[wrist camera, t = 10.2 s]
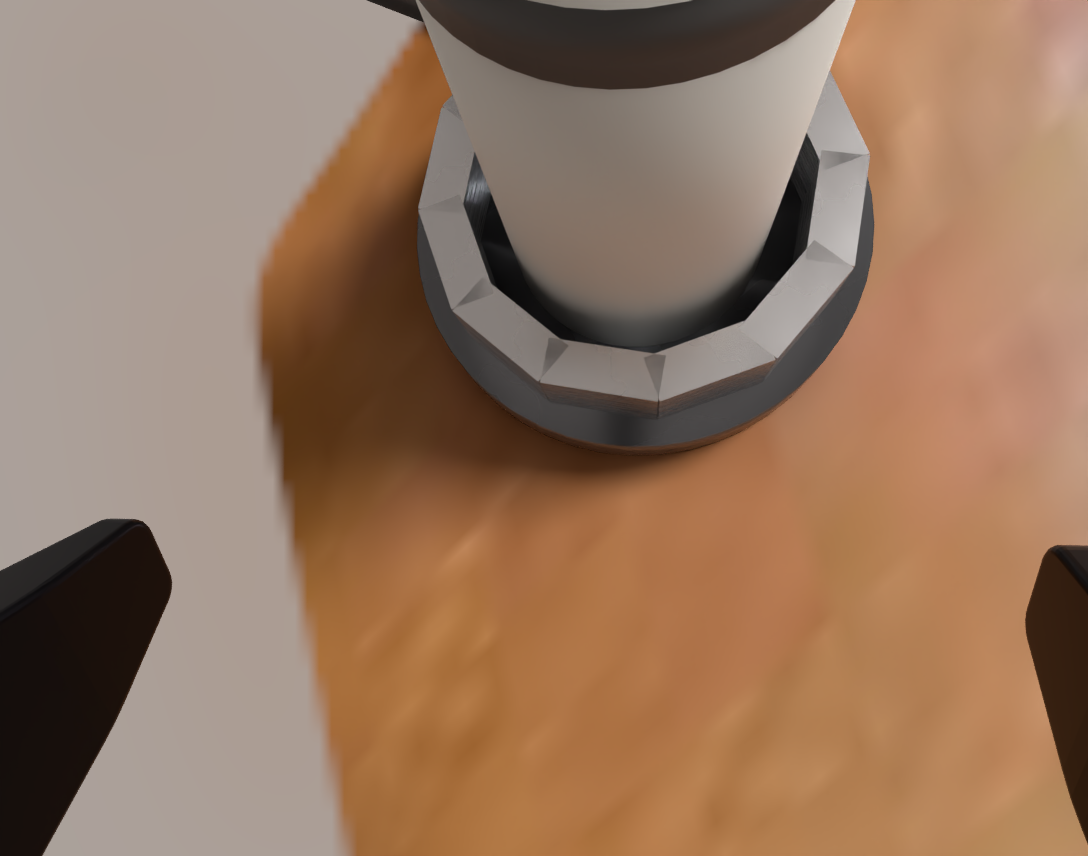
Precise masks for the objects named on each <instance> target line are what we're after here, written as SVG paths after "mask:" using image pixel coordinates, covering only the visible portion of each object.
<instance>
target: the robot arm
mask: <svg viewBox="0 0 1088 856" xmlns="http://www.w3.org/2000/svg"><path fill="white" fill-rule="evenodd" d="M171 589H172V579H171V575H170V572H169V569H168V567H167V565H166V563H165V561H164V558H163V557H162V554H161V552H160V550H159V547H158V545H157V543H156V541H155V539H154V536H153V534H152V532H151V530H150V528H149V527H148V526H147V525H146V524H145V523H144V522H143V521H139V520H136V519H105V520H101V521H99V522H97V523H95V524H93V525H91V526H89V527H87V528H85V529H83V530H81V531H79V532H77V533H75V534H73V535H71V536H69V537H67V538H65V539H63V540H61V541H59V542H57V543H55V544H53V545H51V546H49V547H47V548H45V549H43V550H41V551H39V552H37V553H35V554H33V555H31V556H29V557H27V558H25V559H23V560H21V561H19V562H17V563H15V564H13V565H11V566H9V567H7V568H5V569H3V570H1V571H0V856H42V855H43V853H44V852H45V850H46V848H47V846H48V844H49V842H50V841H51V839H52V837H53V835H54V833H55V832H56V830H57V828H58V826H59V824H60V822H61V821H62V819H63V817H64V815H65V814H66V812H67V810H68V808H69V806H70V804H71V802H72V801H73V799H74V797H75V795H76V794H77V792H78V790H79V788H80V786H81V784H82V783H83V781H84V779H85V777H86V775H87V774H88V772H89V770H90V768H91V766H92V764H93V763H94V761H95V759H96V757H97V755H98V754H99V752H100V750H101V748H102V746H103V745H104V743H105V741H106V739H107V737H108V735H109V733H110V731H111V729H112V727H113V725H114V723H115V721H116V719H117V717H118V715H119V713H120V711H121V708H122V706H123V704H124V702H125V700H126V697H127V695H128V693H129V691H130V688H131V686H132V684H133V681H134V679H135V677H136V674H137V672H138V670H139V667H140V665H141V662H142V660H143V658H144V656H145V654H146V651H147V649H148V647H149V644H150V642H151V640H152V637H153V635H154V633H155V630H156V628H157V626H158V624H159V621H160V619H161V617H162V614H163V612H164V610H165V607H166V605H167V603H168V601H169V598H170V594H171ZM1025 625H1026V635H1027V640H1028V644H1029V647H1030V651H1031V655H1032V659H1033V662H1034V666H1035V670H1036V674H1037V677H1038V681H1039V685H1040V689H1041V692H1042V696H1043V700H1044V704H1045V707H1046V711H1047V715H1048V719H1049V722H1050V726H1051V730H1052V734H1053V737H1054V741H1055V745H1056V749H1057V752H1058V756H1059V760H1060V764H1061V767H1062V771H1063V774H1064V778H1065V781H1066V785H1067V788H1068V791H1069V795H1070V798H1071V801H1072V804H1073V806H1074V809H1075V812H1076V815H1077V817H1078V820H1079V823H1080V825H1081V828H1082V831H1083V833H1084V836H1085V838H1086V841H1087V843H1088V546H1080V545H1056V546H1053V547H1051V548H1050V549H1048V551H1047V552H1046V553H1045V555H1044V557H1043V559H1042V563H1041V566H1040V569H1039V572H1038V575H1037V579H1036V582H1035V585H1034V588H1033V591H1032V595H1031V598H1030V601H1029V604H1028V608H1027V612H1026V619H1025Z"/></svg>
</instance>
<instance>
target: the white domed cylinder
mask: <svg viewBox="0 0 1088 856" xmlns="http://www.w3.org/2000/svg"><path fill="white" fill-rule="evenodd" d="M416 3H417V5H418V8H419V10H420V13H421V15H422V18H423V21H424V23H425V26H426V28H427V31H428V33H429V36H430V38H431V41H432V44H433V46H434V49H435V51H436V54H437V56H438V59H439V61H440V64H441V67H442V69H443V72H444V74H445V77H446V79H447V82H448V84H449V87H450V90H451V92H452V95H453V97H454V100H455V102H456V105H457V107H458V110H459V113H460V115H461V118H462V120H463V123H464V125H465V128H466V130H467V133H468V136H469V138H470V141H471V143H472V146H473V148H474V151H475V153H476V156H477V159H478V161H479V164H480V166H481V169H482V171H483V174H484V176H485V179H486V182H487V184H488V187H489V189H490V192H491V194H492V197H493V199H494V202H495V205H496V207H497V210H498V212H499V215H500V217H501V220H502V222H503V225H504V228H505V230H506V233H507V235H508V238H509V240H510V243H511V246H512V248H513V251H514V253H515V256H516V258H517V261H518V263H519V266H520V269H521V271H522V274H523V276H524V279H525V281H526V283H527V285H528V286H529V288H530V290H531V292H532V294H533V295H534V296H535V297H536V299H537V300H538V301H539V303H540V304H541V305H542V306H543V307H544V308H545V309H546V310H547V311H548V312H549V313H550V314H551V315H552V316H553V317H554V318H555V319H556V320H558V321H559V322H560V323H562V324H563V325H564V326H566V327H567V328H569V329H571V330H573V331H575V332H576V333H578V334H580V335H583V336H585V337H587V338H590V339H592V340H595V341H599V342H603V343H607V344H611V345H618V346H626V347H644V346H652V345H660V344H664V343H668V342H672V341H676V340H679V339H681V338H684V337H687V336H689V335H692V334H694V333H695V332H697V331H699V330H701V329H703V328H705V327H707V326H708V325H709V324H711V323H712V322H714V321H715V320H716V319H718V318H719V317H720V316H722V315H723V314H724V313H725V312H726V311H727V310H728V309H729V308H730V307H731V306H732V305H733V304H734V303H735V302H736V300H737V299H738V298H739V297H740V295H741V294H742V293H743V291H744V290H745V288H746V287H747V285H748V283H749V282H750V280H751V278H752V276H753V274H754V271H755V269H756V267H757V264H758V262H759V259H760V257H761V254H762V251H763V248H764V246H765V243H766V240H767V238H768V235H769V232H770V230H771V227H772V224H773V221H774V219H775V216H776V213H777V211H778V208H779V205H780V203H781V200H782V197H783V195H784V192H785V189H786V186H787V184H788V181H789V178H790V176H791V173H792V170H793V168H794V165H795V162H796V159H797V157H798V154H799V151H800V149H801V146H802V143H803V141H804V138H805V135H806V133H807V130H808V127H809V124H810V122H811V119H812V116H813V114H814V111H815V108H816V106H817V103H818V100H819V97H820V95H821V92H822V89H823V87H824V84H825V81H826V79H827V76H828V73H829V71H830V68H831V65H832V62H833V60H834V57H835V54H836V52H837V49H838V46H839V44H840V41H841V38H842V35H843V33H844V30H845V27H846V25H847V22H848V19H849V17H850V14H851V11H852V9H853V6H854V3H855V0H416Z"/></svg>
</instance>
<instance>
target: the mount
mask: <svg viewBox="0 0 1088 856" xmlns="http://www.w3.org/2000/svg"><path fill="white" fill-rule="evenodd" d="M869 154H870V153H869V151H868V149H867V147H866V145H865V143H864V141H863V139H862V136H861V134H860V132H859V130H858V128H857V126H856V124H855V122H854V120H853V118H852V116H851V114H850V112H849V109H848V107H847V105H846V103H845V101H844V99H843V97H842V95H841V93H840V91H839V89H838V87H837V85H836V82H835V80H834V78H833V76H832V74H831V72H830V71H829V73H828V76H827V79H826V81H825V84H824V87H823V89H822V92H821V95H820V97H819V100H818V103H817V106H816V108H815V111H814V114H813V116H812V119H811V122H810V124H809V127H808V130H807V133H806V135H805V138H804V141H803V143H802V146H801V149H800V151H799V154H798V157H797V159H796V162H795V165H794V168H793V170H792V173H791V176H790V178H789V181H788V184H787V186H786V189H785V192H784V195H783V197H782V200H781V203H780V205H779V208H778V211H777V213H776V216H775V219H774V221H773V224H772V227H771V230H770V232H769V235H768V238H767V240H766V243H765V246H764V248H763V251H762V254H761V257H760V259H759V262H758V264H757V267H756V269H755V271H754V274H753V276H752V278H751V280H750V282H749V283H748V285H747V287H746V288H745V290H744V291H743V293H742V294H741V295H740V297H739V298H738V299H737V300H736V302H735V303H734V304H733V305H732V306H731V307H730V308H729V309H728V310H727V311H726V312H725V313H724V314H723V315H722V316H720V317H719V318H718V319H716V320H715V321H714V322H712V323H711V324H709V325H708V326H707V327H705V328H703V329H701V330H699V331H697V332H695V333H694V334H692V335H689V336H687V337H684V338H681V339H679V340H676V341H672V342H668V343H664V344H660V345H652V346H644V347H626V346H618V345H611V344H607V343H603V342H599V341H595V340H592V339H590V338H587V337H585V336H583V335H580V334H578V333H576V332H575V331H573V330H571V329H569V328H567V327H566V326H564V325H563V324H562V323H560V322H559V321H558V320H556V319H555V318H554V317H553V316H552V315H551V314H550V313H549V312H548V311H547V310H546V309H545V308H544V307H543V306H542V305H541V304H540V303H539V301H538V300H537V299H536V297H535V296H534V295H533V294H532V292H531V290H530V288H529V286H528V285H527V283H526V281H525V279H524V276H523V274H522V271H521V269H520V266H519V263H518V261H517V258H516V256H515V253H514V251H513V248H512V246H511V243H510V240H509V238H508V235H507V233H506V230H505V228H504V225H503V222H502V220H501V217H500V215H499V212H498V210H497V207H496V205H495V202H494V199H493V197H492V194H491V192H490V189H489V187H488V184H487V182H486V179H485V176H484V174H483V171H482V169H481V166H480V164H479V161H478V159H477V156H476V153H475V151H474V148H473V146H472V143H471V141H470V138H469V136H468V133H467V130H466V128H465V125H464V123H463V120H462V118H461V115H460V113H459V110H458V107H457V105H456V102H455V100H454V97H453V95H452V96H451V97H450V98H449V99H448V100H447V101H446V103H445V104H444V105H443V108H441V112H440V116H439V121H438V125H437V129H436V133H435V138H434V142H433V146H432V151H431V155H430V159H429V164H428V168H427V172H426V176H425V181H424V185H423V189H422V194H421V198H420V202H419V207H418V209H419V210H418V211H419V217H418V233H417V252H418V261H419V270H420V277H421V281H422V285H423V289H424V293H425V297H426V301H427V303H428V306H429V308H430V311H431V313H432V316H433V318H434V320H435V323H436V325H437V328H438V329H439V331H440V333H441V334H442V336H443V338H444V340H445V341H446V343H447V345H448V346H449V348H450V350H451V351H452V353H453V354H454V355H455V357H456V358H457V359H458V360H459V362H460V363H461V364H462V365H463V367H464V368H465V369H466V371H467V372H468V373H469V374H470V375H471V377H472V378H473V379H474V380H475V381H476V383H477V384H478V385H479V386H480V387H481V388H482V389H483V390H484V391H485V392H486V393H487V394H488V395H489V396H490V397H491V398H492V399H493V400H494V401H495V402H496V403H497V404H498V405H499V406H500V407H502V408H503V409H504V410H506V411H507V412H509V413H510V414H511V415H513V416H514V417H515V418H517V419H518V420H519V421H521V422H522V423H524V424H526V425H528V426H530V427H531V428H533V429H535V430H537V431H539V432H541V433H542V434H544V435H546V436H549V437H551V438H554V439H556V440H559V441H562V442H564V443H567V444H569V445H572V446H576V447H580V448H584V449H588V450H592V451H596V452H601V453H610V454H619V455H629V456H630V455H661V454H667V453H674V452H681V451H687V450H691V449H694V448H698V447H701V446H705V445H708V444H712V443H715V442H718V441H720V440H722V439H725V438H727V437H729V436H732V435H734V434H736V433H738V432H741V431H743V430H745V429H746V428H748V427H750V426H751V425H753V424H755V423H756V422H758V421H760V420H761V419H763V418H765V417H766V416H768V415H769V414H770V413H772V412H773V411H774V410H776V409H777V408H778V407H779V406H781V405H782V404H783V403H784V402H786V401H787V400H788V399H789V398H791V397H792V395H793V394H794V393H795V392H796V391H797V390H798V389H799V388H800V387H801V386H802V385H803V384H804V383H805V382H806V381H807V380H808V379H809V378H810V377H811V376H812V374H813V373H814V372H815V371H816V370H817V369H818V367H819V366H820V365H821V364H822V363H823V361H824V360H825V359H826V357H827V356H828V355H829V353H830V352H831V351H832V349H833V348H834V346H835V345H836V344H837V342H838V341H839V340H840V338H841V337H842V335H843V333H844V332H845V330H846V328H847V326H848V324H849V322H850V320H851V318H852V317H853V315H854V313H855V311H856V309H857V306H858V303H859V301H860V298H861V295H862V292H863V290H864V287H865V284H866V281H867V277H868V272H869V267H870V262H871V257H872V252H873V236H874V215H873V204H872V194H871V190H870V186H869V181H868V177H867V174H868V166H869V159H870V155H869Z"/></svg>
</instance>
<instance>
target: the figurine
mask: <svg viewBox="0 0 1088 856" xmlns="http://www.w3.org/2000/svg"><path fill="white" fill-rule="evenodd" d="M368 1H370V2H373V3H375V4H378V5H380V6H383V7H385V8H388V9H391V10H394V11H396V12H399V13H401V14H404V15H406V16H409V17H411V18H414V19H417V20H419V21H422V22H424V21H423V18H422V15H421V13H420V10H419V8H418V5H417V3H416V0H368Z"/></svg>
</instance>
